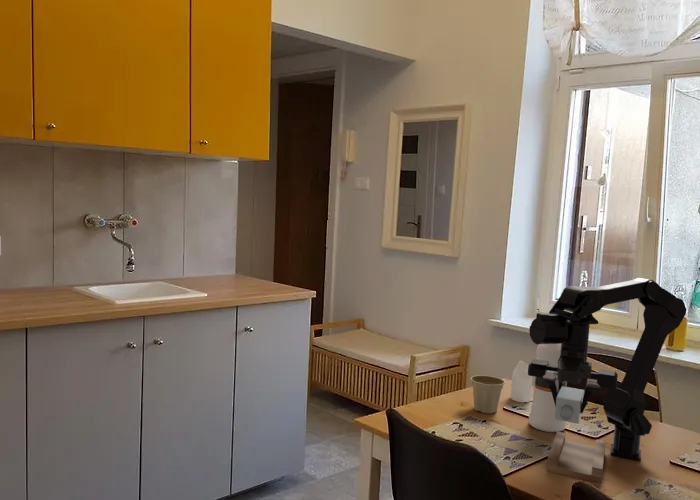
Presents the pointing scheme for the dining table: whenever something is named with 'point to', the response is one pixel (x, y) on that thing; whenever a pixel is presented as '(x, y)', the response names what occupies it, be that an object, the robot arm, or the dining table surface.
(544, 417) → the vodka
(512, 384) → the white pointed cylinder
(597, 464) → the u rest
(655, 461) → the dining table surface
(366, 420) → the dining table surface
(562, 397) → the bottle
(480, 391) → the flower pot
